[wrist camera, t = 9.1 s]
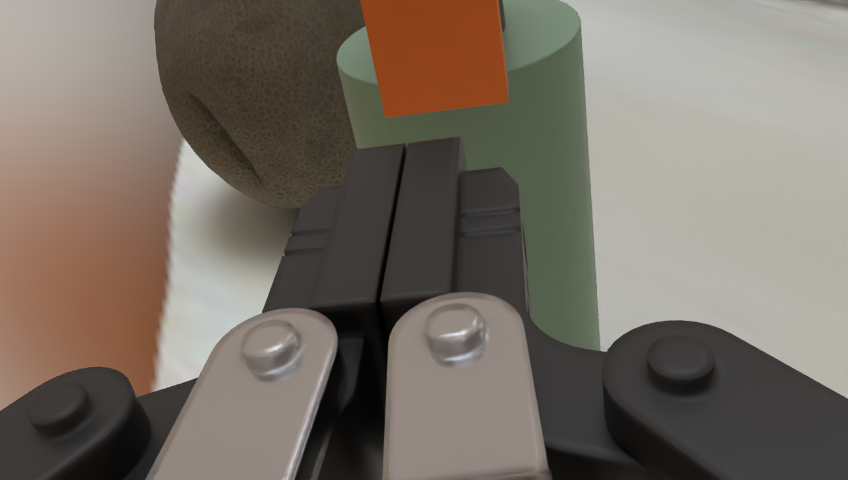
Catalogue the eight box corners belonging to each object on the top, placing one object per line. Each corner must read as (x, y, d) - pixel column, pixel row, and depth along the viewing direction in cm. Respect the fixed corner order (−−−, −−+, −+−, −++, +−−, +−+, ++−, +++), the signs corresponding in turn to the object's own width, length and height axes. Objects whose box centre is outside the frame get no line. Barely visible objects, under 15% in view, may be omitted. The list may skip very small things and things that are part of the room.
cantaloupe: (507, 198, 41) (466, -117, 32) (236, 295, 37) (116, -27, 29) (409, 107, 52) (361, -143, 44) (195, 175, 49) (101, -80, 41)
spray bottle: (622, 522, 24) (585, -256, 13) (413, 532, 25) (214, -187, 14) (593, 344, 31) (553, -273, 20) (429, 357, 32) (302, -224, 21)
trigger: (509, 103, 16) (494, -25, 15) (384, 118, 17) (358, -4, 15) (507, 80, 17) (493, -42, 16) (390, 95, 18) (366, -23, 16)
